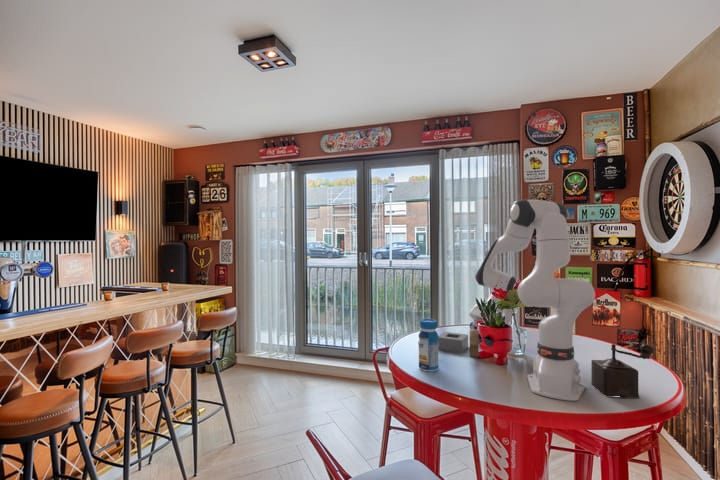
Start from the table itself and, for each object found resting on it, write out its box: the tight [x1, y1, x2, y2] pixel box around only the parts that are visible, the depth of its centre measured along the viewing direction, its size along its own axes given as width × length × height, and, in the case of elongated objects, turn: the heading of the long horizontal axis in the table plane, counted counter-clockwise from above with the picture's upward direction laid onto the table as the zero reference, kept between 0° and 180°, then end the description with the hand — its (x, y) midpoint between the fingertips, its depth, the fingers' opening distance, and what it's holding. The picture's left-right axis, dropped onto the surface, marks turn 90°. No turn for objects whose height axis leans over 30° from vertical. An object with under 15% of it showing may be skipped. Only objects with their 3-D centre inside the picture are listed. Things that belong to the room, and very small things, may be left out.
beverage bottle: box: [417, 318, 440, 373], centre depth 147 cm, size 8×8×20 cm
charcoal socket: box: [438, 331, 469, 354], centre depth 175 cm, size 12×12×6 cm
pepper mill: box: [590, 343, 655, 398], centre depth 123 cm, size 16×11×18 cm
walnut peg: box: [469, 328, 480, 359], centre depth 162 cm, size 4×4×12 cm
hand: (482, 328), depth 165 cm, fingers open, 8 cm apart
